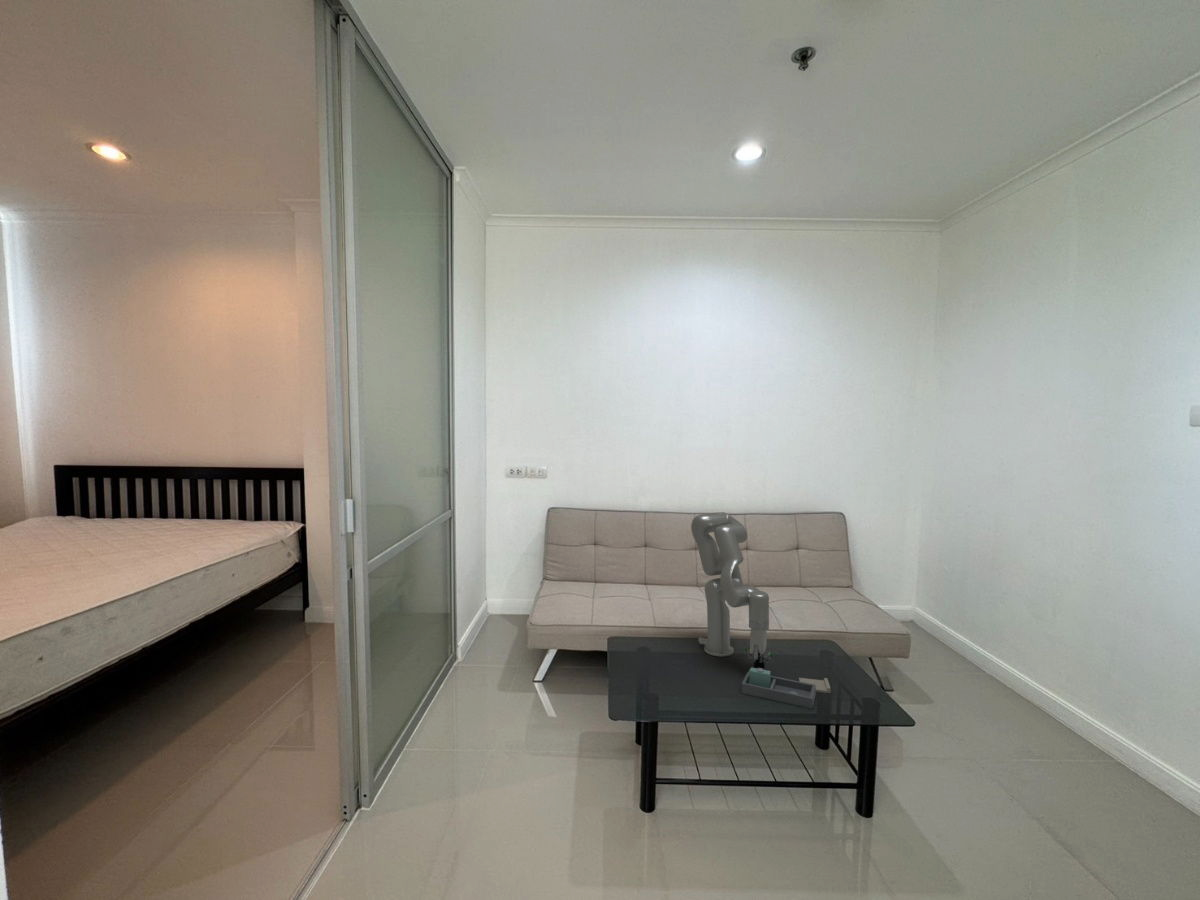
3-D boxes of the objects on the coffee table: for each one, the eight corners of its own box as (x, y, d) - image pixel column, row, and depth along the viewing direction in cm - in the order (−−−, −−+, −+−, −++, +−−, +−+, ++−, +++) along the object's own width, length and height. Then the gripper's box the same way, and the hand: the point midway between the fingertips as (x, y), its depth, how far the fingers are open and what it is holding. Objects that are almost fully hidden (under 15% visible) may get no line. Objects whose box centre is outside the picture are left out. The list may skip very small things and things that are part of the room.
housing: (741, 693, 184) (741, 672, 184) (748, 680, 194) (748, 660, 194) (812, 709, 173) (812, 687, 173) (815, 694, 183) (815, 673, 182)
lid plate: (801, 689, 186) (801, 685, 186) (799, 679, 194) (798, 675, 193) (830, 693, 183) (830, 688, 183) (827, 682, 191) (827, 678, 191)
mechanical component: (771, 679, 194) (771, 654, 194) (745, 673, 199) (744, 648, 199) (773, 676, 196) (773, 651, 196) (747, 670, 202) (747, 645, 201)
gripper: (753, 615, 206) (753, 659, 207) (744, 629, 192) (744, 676, 192) (772, 618, 203) (772, 663, 203) (764, 632, 188) (765, 681, 189)
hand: (759, 669), depth 198 cm, fingers closed on mechanical component, 3 cm apart
